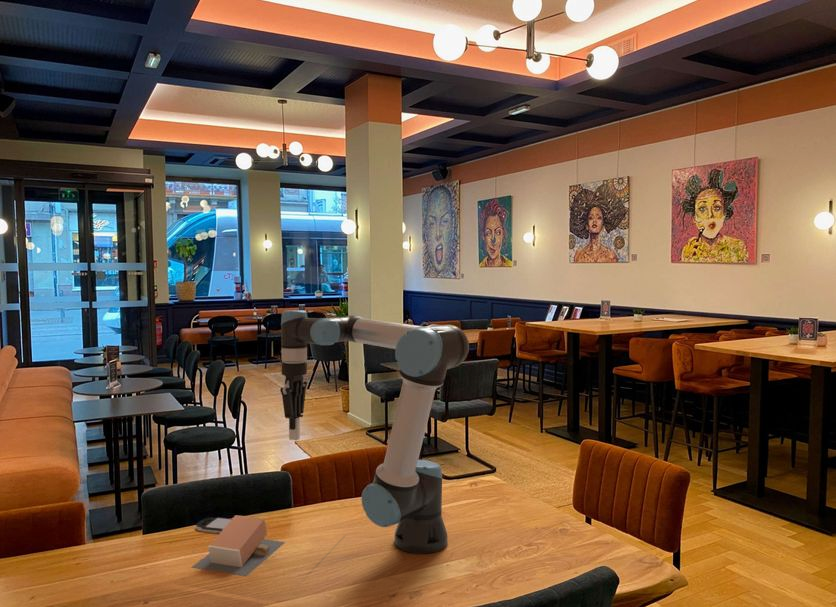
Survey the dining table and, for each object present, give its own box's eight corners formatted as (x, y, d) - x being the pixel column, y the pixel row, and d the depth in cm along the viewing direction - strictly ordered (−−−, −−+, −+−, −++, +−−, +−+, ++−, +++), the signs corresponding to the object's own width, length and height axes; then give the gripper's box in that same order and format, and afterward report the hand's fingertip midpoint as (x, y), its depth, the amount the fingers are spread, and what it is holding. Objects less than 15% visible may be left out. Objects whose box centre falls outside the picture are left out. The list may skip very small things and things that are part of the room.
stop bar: (269, 552, 162) (269, 545, 162) (265, 555, 160) (265, 548, 160) (224, 545, 166) (224, 538, 166) (220, 549, 164) (219, 541, 164)
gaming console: (190, 534, 176) (190, 526, 176) (207, 522, 184) (207, 514, 184) (251, 541, 172) (251, 532, 171) (265, 528, 180) (265, 519, 180)
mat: (285, 545, 168) (285, 542, 168) (246, 579, 149) (246, 576, 149) (235, 537, 173) (235, 535, 173) (191, 570, 153) (191, 567, 153)
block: (264, 518, 164) (238, 551, 152) (266, 534, 165) (241, 567, 153) (235, 515, 166) (208, 546, 154) (238, 530, 168) (211, 562, 156)
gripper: (293, 358, 187) (293, 432, 188) (271, 363, 174) (272, 443, 175) (315, 359, 185) (315, 434, 186) (295, 365, 172) (295, 446, 173)
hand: (294, 439), depth 181 cm, fingers closed
